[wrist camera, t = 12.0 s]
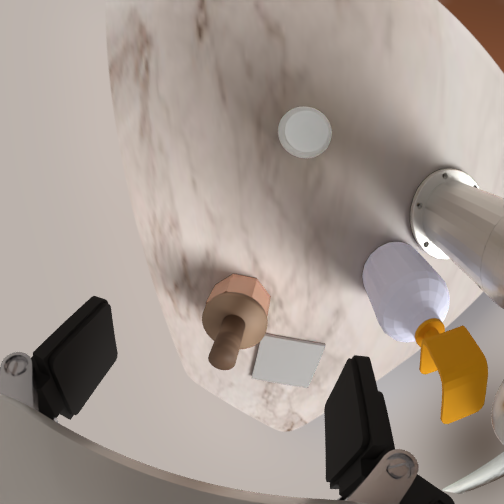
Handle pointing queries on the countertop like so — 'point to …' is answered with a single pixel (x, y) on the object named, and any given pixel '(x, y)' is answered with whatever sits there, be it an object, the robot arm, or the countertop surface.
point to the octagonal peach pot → (243, 289)
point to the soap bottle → (426, 325)
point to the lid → (232, 326)
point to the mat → (287, 360)
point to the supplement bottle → (304, 132)
